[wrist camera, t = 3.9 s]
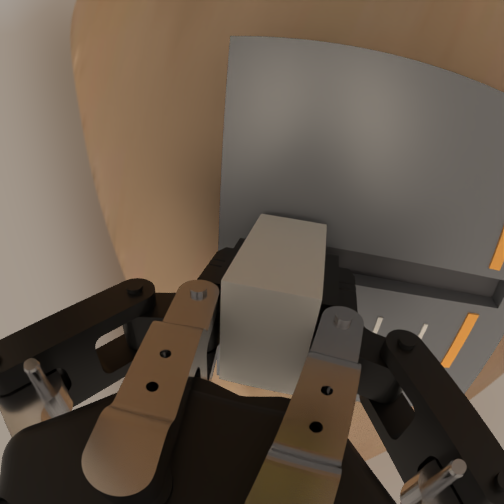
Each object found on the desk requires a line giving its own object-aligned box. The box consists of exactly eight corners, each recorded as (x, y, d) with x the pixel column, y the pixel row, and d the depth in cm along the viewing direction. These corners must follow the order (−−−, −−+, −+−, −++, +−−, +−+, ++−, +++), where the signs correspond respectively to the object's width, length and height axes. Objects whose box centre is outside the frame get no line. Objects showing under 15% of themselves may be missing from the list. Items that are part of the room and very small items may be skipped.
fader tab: (267, 203, 14) (221, 280, 8) (327, 213, 13) (322, 299, 8) (259, 281, 15) (219, 378, 10) (312, 291, 15) (296, 395, 10)
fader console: (249, 47, 13) (229, 35, 10) (542, 123, 10) (575, 132, 7) (230, 343, 21) (216, 376, 18) (445, 375, 18) (453, 408, 16)
